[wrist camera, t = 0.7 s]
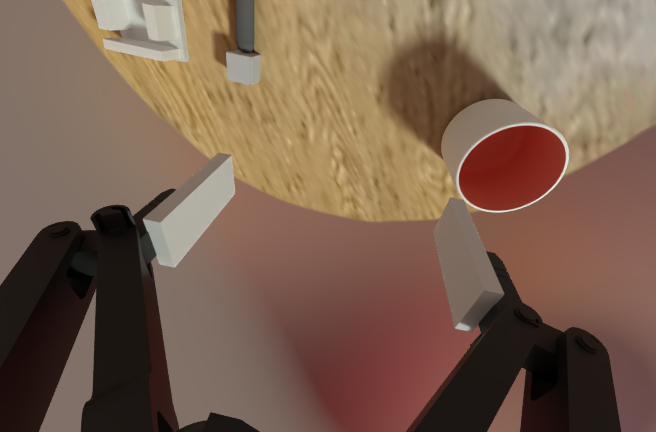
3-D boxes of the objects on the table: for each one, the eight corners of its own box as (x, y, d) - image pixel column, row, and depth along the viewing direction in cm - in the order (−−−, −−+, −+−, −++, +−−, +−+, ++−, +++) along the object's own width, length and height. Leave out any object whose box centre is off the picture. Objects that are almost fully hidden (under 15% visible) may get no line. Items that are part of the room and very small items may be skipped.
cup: (423, 138, 37) (435, 172, 29) (495, 76, 31) (535, 97, 23) (468, 185, 39) (490, 227, 31) (541, 136, 34) (590, 172, 26)
